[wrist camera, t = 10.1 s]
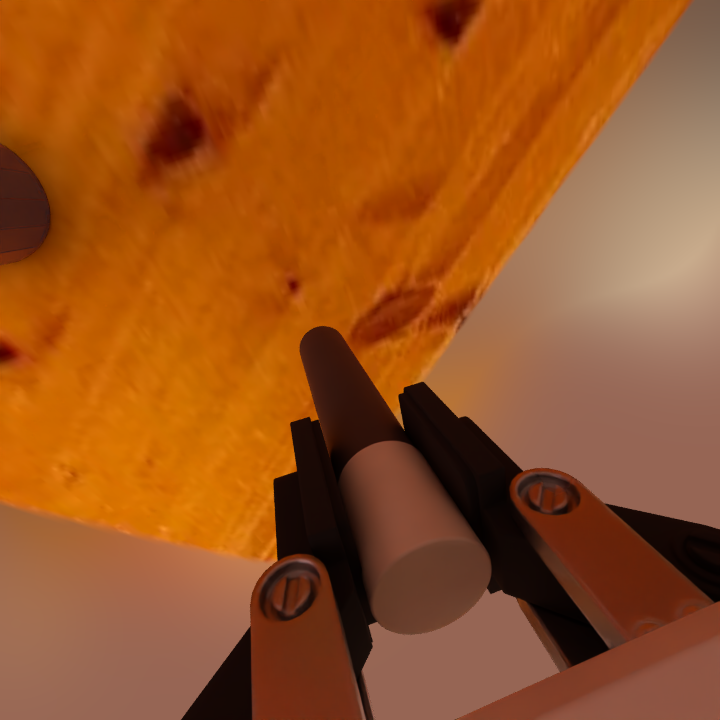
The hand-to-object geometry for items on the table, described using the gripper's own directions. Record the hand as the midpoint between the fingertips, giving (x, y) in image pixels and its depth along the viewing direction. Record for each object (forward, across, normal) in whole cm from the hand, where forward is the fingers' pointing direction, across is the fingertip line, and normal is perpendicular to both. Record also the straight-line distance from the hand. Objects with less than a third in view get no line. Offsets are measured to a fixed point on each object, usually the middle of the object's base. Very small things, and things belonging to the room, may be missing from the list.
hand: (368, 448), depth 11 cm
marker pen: (+9, 0, 0) cm, 9 cm away
